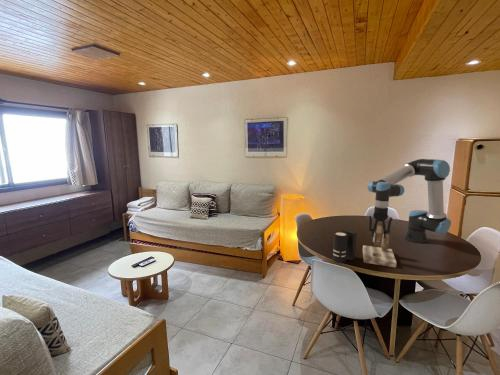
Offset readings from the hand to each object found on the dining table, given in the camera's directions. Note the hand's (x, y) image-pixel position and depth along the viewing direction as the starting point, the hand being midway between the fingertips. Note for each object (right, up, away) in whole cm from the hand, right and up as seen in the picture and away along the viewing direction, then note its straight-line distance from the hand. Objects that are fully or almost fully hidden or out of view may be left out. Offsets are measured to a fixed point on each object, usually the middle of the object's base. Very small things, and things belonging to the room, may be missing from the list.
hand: (377, 242), depth 162 cm
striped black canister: (-22, -12, +3) cm, 25 cm away
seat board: (+2, -11, +4) cm, 12 cm away
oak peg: (0, -3, 0) cm, 3 cm away
